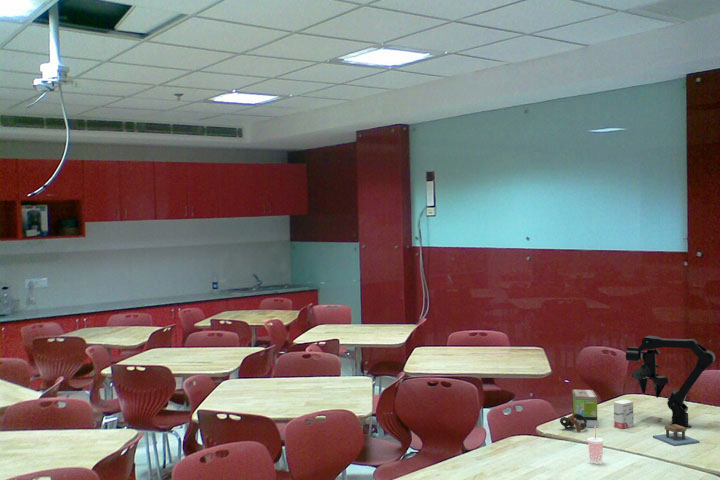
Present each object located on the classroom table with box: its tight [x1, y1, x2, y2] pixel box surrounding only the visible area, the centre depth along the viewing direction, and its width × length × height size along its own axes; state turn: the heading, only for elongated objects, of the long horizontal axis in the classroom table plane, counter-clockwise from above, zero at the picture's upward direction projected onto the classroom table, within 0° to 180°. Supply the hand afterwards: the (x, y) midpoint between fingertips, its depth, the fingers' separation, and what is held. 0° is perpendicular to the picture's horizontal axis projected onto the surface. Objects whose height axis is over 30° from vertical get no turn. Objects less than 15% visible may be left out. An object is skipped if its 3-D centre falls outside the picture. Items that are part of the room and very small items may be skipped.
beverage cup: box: [586, 427, 604, 465], centre depth 261 cm, size 6×6×14 cm
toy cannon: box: [559, 413, 587, 433], centre depth 305 cm, size 12×10×8 cm
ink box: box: [613, 399, 635, 430], centre depth 308 cm, size 9×5×12 cm, turn 123°
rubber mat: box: [652, 432, 700, 447], centre depth 286 cm, size 13×13×1 cm
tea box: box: [571, 389, 598, 429], centre depth 316 cm, size 15×10×15 cm, turn 168°
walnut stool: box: [664, 424, 687, 441], centre depth 286 cm, size 6×6×5 cm
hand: (650, 395), depth 314 cm, fingers open, 9 cm apart
